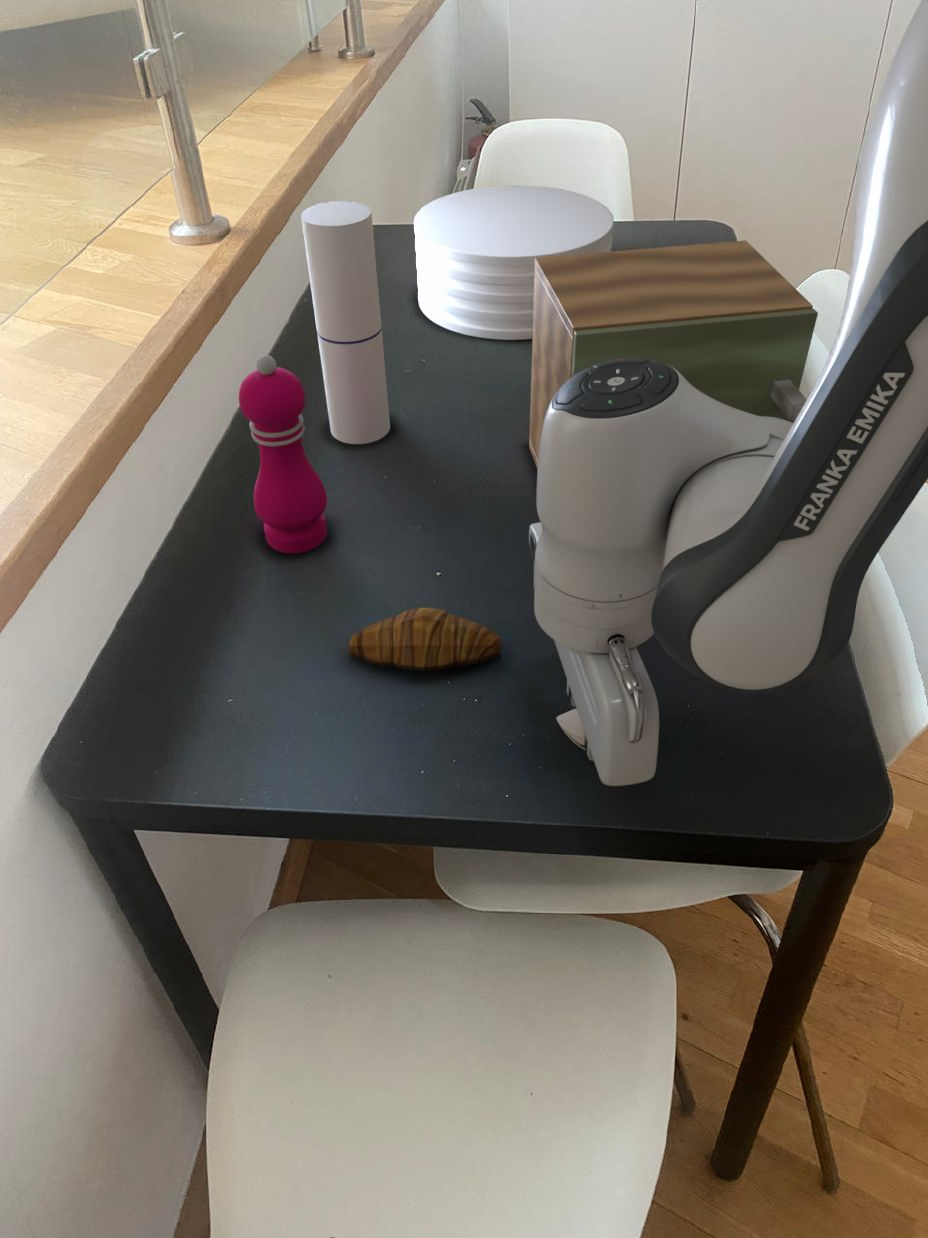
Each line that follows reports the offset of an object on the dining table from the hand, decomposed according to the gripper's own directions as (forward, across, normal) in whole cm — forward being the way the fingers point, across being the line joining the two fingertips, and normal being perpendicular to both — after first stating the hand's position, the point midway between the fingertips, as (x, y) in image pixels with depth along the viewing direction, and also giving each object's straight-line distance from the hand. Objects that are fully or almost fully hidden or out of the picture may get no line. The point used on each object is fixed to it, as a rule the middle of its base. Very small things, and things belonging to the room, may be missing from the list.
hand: (587, 725), depth 72 cm
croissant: (+2, +12, +12) cm, 17 cm away
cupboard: (+2, +36, -16) cm, 39 cm away
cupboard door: (+2, +25, -16) cm, 29 cm away
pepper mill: (+2, +32, +22) cm, 39 cm away
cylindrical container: (+2, +52, +14) cm, 54 cm away
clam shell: (+2, 0, 0) cm, 2 cm away
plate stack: (+2, +85, -11) cm, 86 cm away
